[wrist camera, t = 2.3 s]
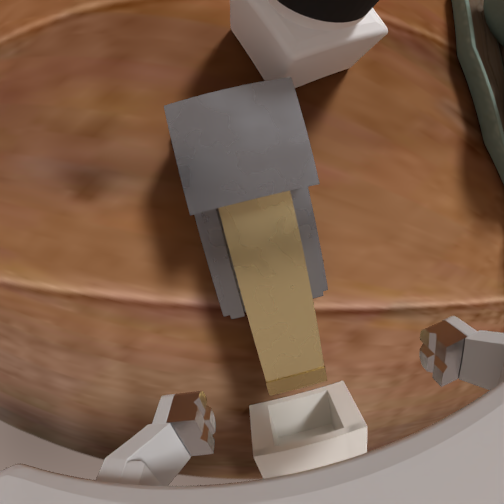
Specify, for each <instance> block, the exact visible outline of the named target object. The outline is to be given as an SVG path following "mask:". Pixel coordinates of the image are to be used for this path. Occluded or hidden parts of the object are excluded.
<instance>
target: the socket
mask: <svg viewBox="0 0 504 504" xmlns="http://www.w3.org/2000/svg"><path fill="white" fill-rule="evenodd" d="M249 410H250V423H251V435H252V448H253V457H254V460H255V462H256V464H257V466H258V468H259V470H260V473H261V475H262V477H263V479H266V478H272V477H277V476H283V475H288V474H293V473H297V472H302V471H306V470H310V469H314V468H318V467H322V466H325V465H329V464H333V463H336V462H339V461H343V460H346V459H349V458H352V457H355V456H358V455H361V454H364V453H367V425H366V423H365V421H364V419H363V417H362V415H361V413H360V411H359V409H358V408H357V406H356V404H355V402H354V400H353V398H352V396H351V394H350V393H349V391H348V389H347V387H346V385H345V383H344V381H340V382H337V383H334V384H331V385H328V386H324V387H321V388H317V389H314V390H310V391H307V392H303V393H300V394H296V395H292V396H288V397H284V398H280V399H276V400H271V401H267V402H262V403H258V404H253V405H249Z"/></svg>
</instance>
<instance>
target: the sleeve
mask: <svg viewBox="0 0 504 504" xmlns="http://www.w3.org/2000/svg"><path fill="white" fill-rule="evenodd" d="M164 109H165V114H166V119H167V123H168V128H169V132H170V136H171V141H172V145H173V149H174V154H175V158H176V162H177V166H178V170H179V174H180V178H181V182H182V186H183V190H184V194H185V198H186V202H187V205H188V209H189V213H190V215H194V216H195V219H196V223H197V227H198V230H199V234H200V238H201V241H202V245H203V249H204V252H205V256H206V259H207V263H208V266H209V270H210V273H211V276H212V280H213V283H214V287H215V290H216V293H217V297H218V300H219V303H220V306H221V310H222V313H223V316H228V315H230V317H231V319H235V318H239V317H244V316H245V311H246V310H245V306H244V302H243V299H242V295H241V291H240V288H239V284H238V280H237V277H236V273H235V269H234V266H233V262H232V258H231V255H230V251H229V247H228V243H227V239H226V236H225V232H224V228H223V224H222V220H221V217H220V213H219V209H218V208H220V207H224V206H228V205H232V204H236V203H240V202H244V201H248V200H252V199H256V198H260V197H264V196H268V195H273V194H277V193H281V192H286V191H290V192H291V196H292V201H293V205H294V210H295V214H296V219H297V223H298V228H299V232H300V237H301V242H302V247H303V251H304V256H305V261H306V266H307V271H308V276H309V282H310V287H311V292H312V298H317V297H320V296H323V291H326V290H328V287H327V281H326V275H325V270H324V264H323V259H322V253H321V248H320V243H319V238H318V233H317V228H316V223H315V218H314V213H313V208H312V204H311V199H310V195H309V190H308V186H312V185H317V184H319V179H318V175H317V171H316V166H315V162H314V158H313V154H312V150H311V146H310V142H309V138H308V134H307V131H306V127H305V123H304V119H303V116H302V112H301V109H300V105H299V102H298V98H297V95H296V91H295V88H294V85H293V81H292V78H291V77H287V78H280V79H274V80H268V81H262V82H257V83H251V84H246V85H241V86H237V87H232V88H228V89H223V90H219V91H215V92H211V93H207V94H203V95H199V96H196V97H192V98H188V99H185V100H182V101H178V102H175V103H172V104H168V105H165V106H164Z"/></svg>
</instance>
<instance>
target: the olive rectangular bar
mask: <svg viewBox="0 0 504 504" xmlns="http://www.w3.org/2000/svg"><path fill="white" fill-rule="evenodd" d="M218 209H219V213H220V217H221V220H222V224H223V228H224V232H225V236H226V239H227V243H228V247H229V251H230V255H231V258H232V262H233V266H234V269H235V273H236V277H237V280H238V284H239V288H240V291H241V295H242V299H243V302H244V306H245V310H246V313H247V317H248V320H249V324H250V327H251V331H252V334H253V338H254V341H255V345H256V348H257V352H258V355H259V359H260V362H261V366H262V369H263V373H264V376H265V382H266V386H267V389H268V393H269V396H271V395H276V394H280V393H284V392H288V391H292V390H296V389H299V388H303V387H307V386H310V385H314V384H317V383H321V382H324V381H327V376H326V369H325V366H324V362H323V356H322V350H321V344H320V337H319V332H318V326H317V320H316V314H315V309H314V303H313V298H312V292H311V287H310V282H309V276H308V271H307V266H306V261H305V256H304V251H303V247H302V242H301V237H300V232H299V228H298V223H297V219H296V214H295V210H294V205H293V201H292V196H291V192H290V191H286V192H281V193H277V194H273V195H268V196H264V197H260V198H256V199H252V200H248V201H244V202H240V203H236V204H232V205H228V206H224V207H220V208H218Z"/></svg>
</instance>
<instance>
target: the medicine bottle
mask: <svg viewBox="0 0 504 504" xmlns="http://www.w3.org/2000/svg"><path fill="white" fill-rule="evenodd" d="M378 1H379V0H230V24H231V30H232V32H233V33H234V35H235V36H236V38H237V39H238V40H239V42H240V43H241V45H242V46H243V48H244V49H245V51H246V52H247V54H248V55H249V57H250V59H251V60H252V62H253V63H254V65H255V66H256V68H257V69H258V71H259V73H260V74H261V76H262V77H263V79H264V81H268V80H274V79H280V78H287V77H291V78H292V81H293V85H294V88H297V87H299V86H302V85H304V84H307V83H309V82H312V81H315V80H317V79H320V78H323V77H325V76H328V75H331V74H334V73H337V72H339V71H342V70H345V69H348V68H350V67H352V66H353V65H354V64H355V63H356V62H357V61H358V60H359V59H360V58H361V57H362V56H363V55H364V54H365V53H366V52H368V51H369V50H370V49H371V48H372V47H373V46H374V45H375V44H376V43H377V42H378V41H379V40H381V39H382V38H383V37H384V36H385V35H386V34H387V33H388V29H387V27H386V26H385V24H384V23H383V21H382V20H381V18H380V17H379V16H378V14H377V13H376V12H375V10H374V9H373V7H374V5H375V4H376V3H377V2H378Z"/></svg>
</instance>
